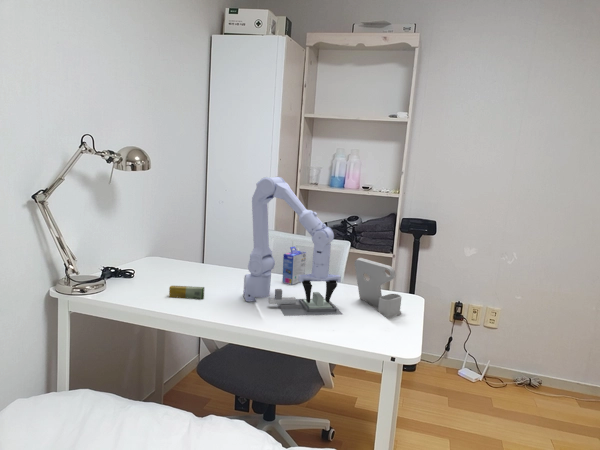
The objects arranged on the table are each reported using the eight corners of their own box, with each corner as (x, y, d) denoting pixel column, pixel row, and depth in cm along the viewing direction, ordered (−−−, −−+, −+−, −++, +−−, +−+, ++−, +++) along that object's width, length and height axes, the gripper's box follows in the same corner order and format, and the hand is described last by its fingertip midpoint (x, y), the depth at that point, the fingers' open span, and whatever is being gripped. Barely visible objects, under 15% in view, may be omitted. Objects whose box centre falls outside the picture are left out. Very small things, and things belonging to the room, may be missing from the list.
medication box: (204, 297, 164) (205, 286, 164) (203, 300, 162) (203, 288, 161) (170, 295, 164) (170, 284, 163) (168, 298, 161) (168, 286, 161)
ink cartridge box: (294, 277, 198) (296, 244, 196) (305, 280, 195) (307, 247, 193) (281, 282, 190) (283, 247, 187) (292, 285, 187) (294, 250, 184)
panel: (284, 320, 148) (284, 312, 147) (273, 303, 163) (274, 296, 162) (342, 318, 153) (343, 310, 153) (327, 302, 168) (328, 295, 168)
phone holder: (403, 313, 163) (408, 264, 160) (386, 319, 156) (391, 267, 153) (364, 300, 175) (368, 253, 172) (346, 304, 168) (351, 256, 165)
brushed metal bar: (269, 304, 153) (270, 291, 152) (268, 301, 155) (269, 289, 154) (296, 303, 155) (297, 290, 155) (294, 301, 157) (295, 288, 157)
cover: (309, 310, 154) (310, 298, 153) (303, 302, 161) (303, 291, 161) (332, 310, 156) (333, 298, 155) (324, 302, 164) (325, 291, 163)
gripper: (303, 265, 151) (300, 305, 153) (345, 266, 154) (341, 305, 157) (297, 260, 157) (295, 299, 159) (338, 261, 161) (334, 298, 163)
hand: (317, 301), depth 158 cm, fingers open, 6 cm apart
